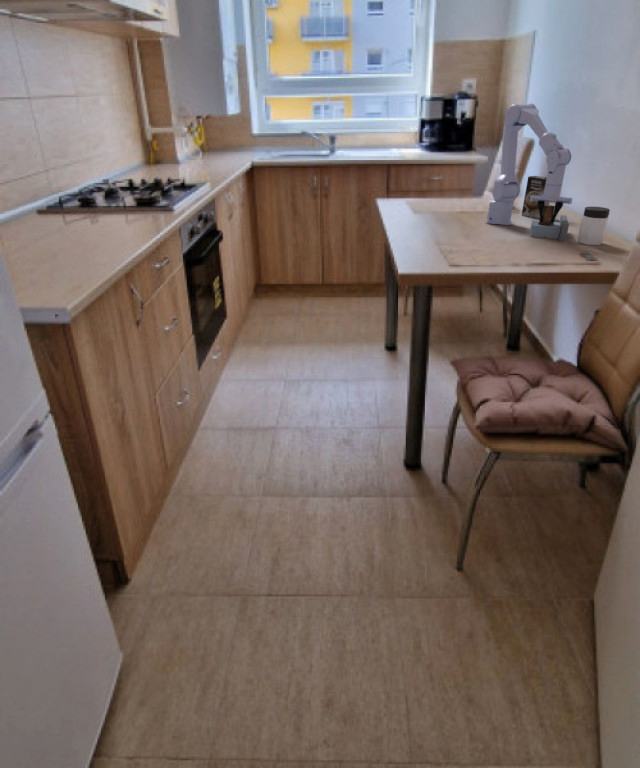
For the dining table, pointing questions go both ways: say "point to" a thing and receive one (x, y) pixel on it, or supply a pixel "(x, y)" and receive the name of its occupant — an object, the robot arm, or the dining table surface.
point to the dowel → (547, 215)
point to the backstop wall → (563, 228)
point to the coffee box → (533, 188)
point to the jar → (593, 225)
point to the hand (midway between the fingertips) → (546, 222)
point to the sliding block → (545, 230)
